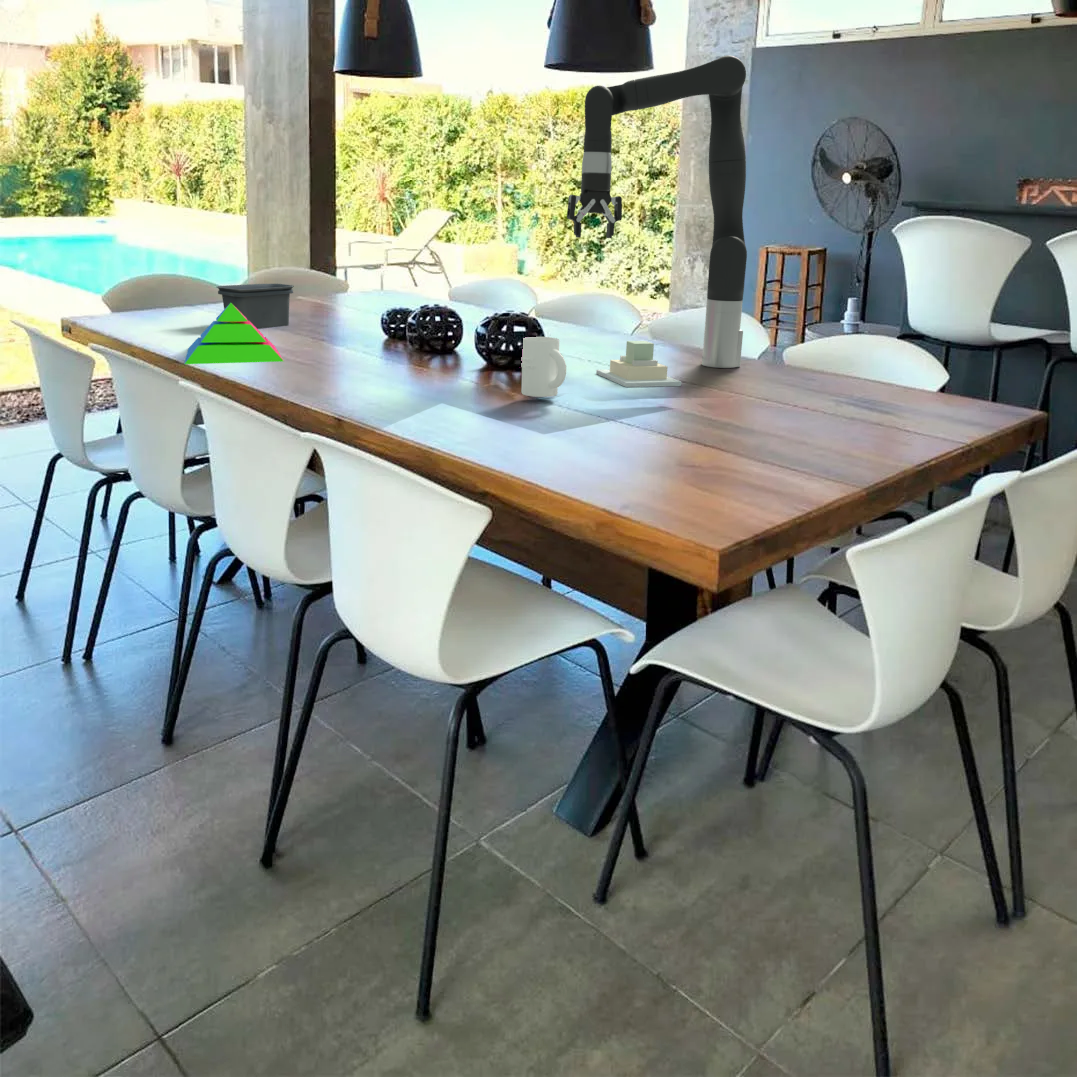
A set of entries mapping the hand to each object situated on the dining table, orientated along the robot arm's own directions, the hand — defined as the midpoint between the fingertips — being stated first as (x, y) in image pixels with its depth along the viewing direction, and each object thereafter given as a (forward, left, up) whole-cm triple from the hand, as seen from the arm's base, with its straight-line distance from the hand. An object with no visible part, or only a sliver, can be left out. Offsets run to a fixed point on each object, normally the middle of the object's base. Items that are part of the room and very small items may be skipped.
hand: (593, 237), depth 269 cm
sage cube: (-2, +30, -28) cm, 41 cm away
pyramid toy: (+91, -20, -33) cm, 99 cm away
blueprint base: (-2, +30, -32) cm, 44 cm away
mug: (+27, +48, -32) cm, 64 cm away
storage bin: (+83, -68, -32) cm, 112 cm away
